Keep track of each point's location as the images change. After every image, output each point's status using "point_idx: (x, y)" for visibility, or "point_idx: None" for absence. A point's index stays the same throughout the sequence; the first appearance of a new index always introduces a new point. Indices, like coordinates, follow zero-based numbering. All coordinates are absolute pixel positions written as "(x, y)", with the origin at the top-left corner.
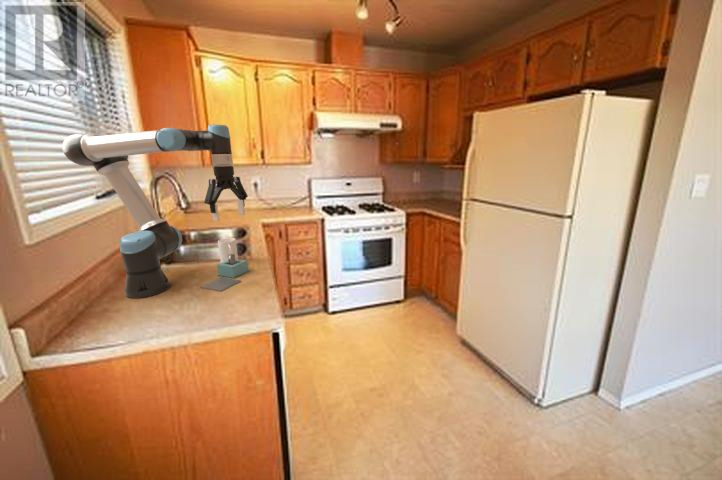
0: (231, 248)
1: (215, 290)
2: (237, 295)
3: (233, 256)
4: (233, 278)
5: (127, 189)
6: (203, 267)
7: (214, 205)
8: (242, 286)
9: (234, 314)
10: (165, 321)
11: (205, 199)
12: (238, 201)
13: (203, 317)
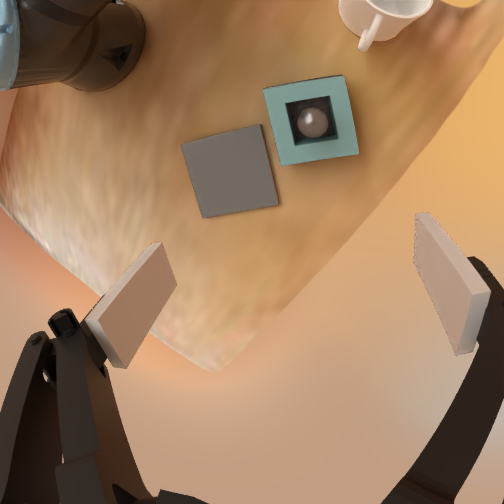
0: (384, 24)
1: (197, 198)
2: (221, 264)
3: (313, 137)
4: None
5: None
6: None
7: (107, 352)
8: (261, 230)
9: (176, 319)
10: (89, 241)
11: (24, 359)
12: (462, 297)
13: None
